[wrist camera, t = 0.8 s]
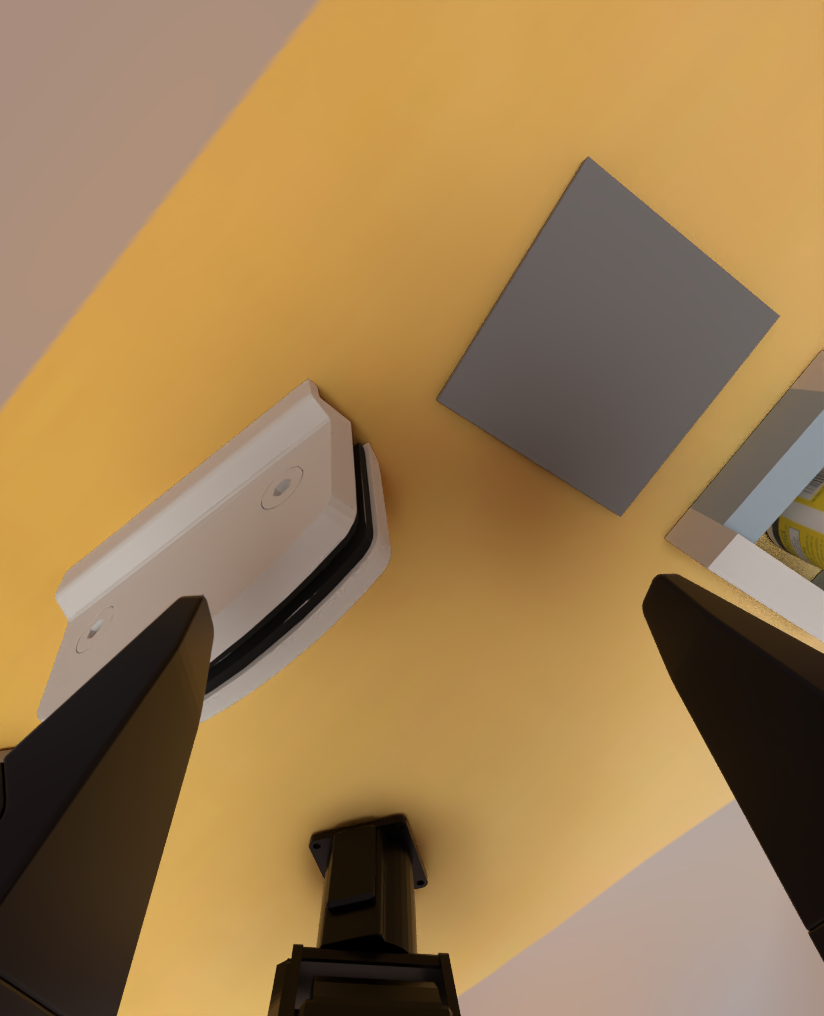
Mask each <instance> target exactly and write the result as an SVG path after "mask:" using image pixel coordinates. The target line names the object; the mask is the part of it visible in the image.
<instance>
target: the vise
mask: <svg viewBox="0 0 824 1016" xmlns="http://www.w3.org/2000/svg"><path fill="white" fill-rule="evenodd" d="M823 467H824V350H822V351H821V352H820V353H819V354H818V355H817V357H816V358H815V359H814V360H813V361H812V362H811V364H810V365H809V366H808V367H807V368H806V370H805V371H804V372H803V373H802V374H801V376H800V377H799V378H798V379H797V380H796V382H795V383H794V384H793V385H792V386H791V388H790V389H789V390H788V391H787V392H786V394H785V395H784V396H783V397H782V398H781V400H780V401H779V402H778V403H777V404H776V406H775V407H774V408H773V409H772V410H771V411H770V413H769V414H768V415H767V416H766V417H765V419H764V420H763V421H762V422H761V423H760V425H759V426H758V427H757V428H756V429H755V431H754V432H753V433H752V434H751V435H750V437H749V438H748V439H747V440H746V441H745V443H744V444H743V445H742V446H741V447H740V449H739V450H738V451H737V452H736V453H735V455H734V456H733V457H732V458H731V459H730V460H729V462H728V463H727V464H726V465H725V466H724V468H723V469H722V470H721V471H720V472H719V474H718V475H717V476H716V477H715V478H714V480H713V481H712V482H711V483H710V484H709V486H708V487H707V488H706V489H705V490H704V492H703V493H702V494H701V495H700V496H699V498H698V499H697V500H696V501H695V502H694V504H693V505H692V506H691V507H690V508H689V509H688V511H687V512H686V513H685V514H684V515H683V517H682V518H681V519H680V520H679V521H678V523H677V524H676V525H675V526H674V527H673V529H672V530H671V531H670V532H669V533H668V535H667V536H666V537H665V538H664V539H666V540H667V541H669V542H670V543H671V544H673V545H674V546H676V547H677V548H679V549H680V550H681V551H683V552H684V553H686V554H687V555H689V556H690V557H691V558H693V559H694V560H696V561H697V562H699V563H700V564H701V565H703V566H704V567H706V568H707V569H709V570H710V571H712V572H713V573H715V574H717V575H718V576H720V577H721V578H723V579H724V580H726V581H728V582H729V583H731V584H732V585H734V586H735V587H737V588H739V589H740V590H742V591H743V592H745V593H746V594H748V595H750V596H751V597H753V598H754V599H756V600H757V601H759V602H761V603H762V604H764V605H765V606H767V607H768V608H770V609H772V610H773V611H775V612H776V613H778V614H779V615H781V616H783V617H784V618H786V619H787V620H789V621H790V622H792V623H794V624H795V625H797V626H798V627H800V628H801V629H803V630H805V631H806V632H808V633H809V634H811V635H812V636H814V637H816V638H817V639H819V640H820V641H822V642H823V643H824V570H822V571H821V572H820V573H819V574H818V576H817V577H816V578H815V579H814V580H813V581H812V582H810V581H808V580H807V579H805V578H804V577H802V576H801V575H799V574H798V573H796V572H795V571H793V570H792V569H790V568H789V567H787V566H786V565H784V564H783V563H781V562H780V561H778V560H777V559H775V558H774V557H772V556H771V555H769V554H768V553H766V552H765V551H764V550H762V549H761V548H759V547H758V546H756V545H755V543H756V541H757V540H758V539H759V538H760V537H761V536H762V535H763V534H764V533H765V531H766V530H767V529H768V528H769V527H770V526H771V525H772V524H773V523H774V521H775V520H776V519H777V518H778V517H779V516H780V515H781V514H782V513H783V512H784V510H785V509H786V508H787V507H788V506H789V505H790V504H791V503H792V502H793V500H794V499H795V498H796V497H797V496H798V495H799V494H800V493H801V492H802V490H803V489H804V488H805V487H806V486H807V485H808V484H809V483H810V482H811V480H812V479H813V478H814V477H815V476H816V475H817V474H818V473H819V472H820V471H821V469H822V468H823Z"/></svg>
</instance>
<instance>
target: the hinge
mask: <svg viewBox="0 0 824 1016" xmlns="http://www.w3.org/2000/svg"><path fill="white" fill-rule="evenodd" d="M390 558H391V544H390V537H389V530H388V523H387V516H386V509H385V502H384V495H383V488H382V481H381V474H380V467H379V462H378V460H377V458H376V455H375V453H374V452H373V450H372V448H371V446H370V444H369V442H367V443H366V444H364V445H363V446H362V445H361V444H360V443H359V442H358V443H357V444H356V445H354V446H353V436H352V430H351V422H350V421H349V420H348V419H346V418H345V417H344V416H343V415H341V414H340V413H339V412H337V411H336V410H335V409H334V408H332V407H331V406H330V405H329V404H327V403H326V402H325V401H323V400H322V399H321V398H320V397H319V393H318V388H317V385H315V384H314V383H313V382H312V381H311V380H310V379H309V378H308V379H307V380H305V381H304V382H303V383H302V384H300V385H299V386H298V387H297V388H295V389H294V390H293V391H292V392H290V393H289V394H288V395H287V396H285V397H284V398H283V399H282V400H280V401H279V402H278V403H277V404H275V405H274V406H273V407H272V408H270V409H269V410H268V411H267V412H265V413H264V414H263V415H262V416H260V417H259V418H258V419H257V420H255V421H254V422H253V423H252V424H250V425H249V426H248V427H247V428H245V429H244V430H243V431H242V432H240V433H239V434H238V435H237V436H235V437H234V438H233V439H232V440H230V441H229V442H228V443H227V444H225V445H224V446H223V447H222V448H220V449H219V450H218V451H217V452H215V453H214V454H213V455H212V456H210V457H209V458H208V459H207V460H205V461H204V462H203V463H202V464H200V465H199V466H198V467H197V468H195V469H194V470H193V471H192V472H190V473H189V474H188V475H187V476H185V477H184V478H183V479H182V480H180V481H179V482H178V483H177V484H175V485H174V486H173V487H172V488H170V489H169V490H168V491H167V492H165V493H164V494H163V495H162V496H160V497H159V498H158V499H156V500H155V501H154V502H153V503H151V504H150V505H149V506H148V507H146V508H145V509H144V510H143V511H141V512H140V513H139V514H138V515H136V516H135V517H134V518H133V519H131V520H130V521H129V522H128V523H126V524H125V525H124V526H123V527H121V528H120V529H119V530H118V531H116V532H115V533H114V534H113V535H111V536H110V537H109V538H108V539H106V540H105V541H104V542H103V543H101V544H100V545H99V546H98V547H96V548H95V549H94V550H93V551H91V552H90V553H89V554H88V555H86V556H85V557H84V558H83V559H81V560H80V561H79V562H78V563H76V564H75V565H74V566H73V567H71V568H70V569H69V570H68V571H67V572H66V574H65V575H64V577H63V579H62V581H61V583H60V585H59V587H58V589H57V591H56V593H55V598H56V600H57V602H58V604H59V605H60V607H61V609H62V611H63V612H64V614H65V616H66V617H67V619H68V626H67V629H66V632H65V634H64V637H63V640H62V643H61V646H60V649H59V652H58V654H57V657H56V660H55V663H54V666H53V669H52V671H51V674H50V677H49V680H48V683H47V686H46V688H45V691H44V694H43V697H42V700H41V703H40V705H39V708H38V711H37V718H38V719H39V720H40V721H42V722H43V721H44V720H45V719H46V718H47V717H48V716H50V715H51V714H52V713H53V712H54V711H55V710H56V709H57V708H58V707H59V706H61V705H62V704H63V703H64V702H65V701H66V700H67V699H68V698H69V697H70V696H72V695H73V694H74V693H75V692H76V691H77V690H78V689H79V688H80V687H81V686H83V685H84V684H85V683H86V682H87V681H88V680H89V679H90V678H91V677H92V676H93V675H95V674H96V673H97V672H98V671H99V670H100V669H101V668H102V667H103V666H104V665H106V664H107V663H108V662H109V661H110V660H111V659H112V658H113V657H114V656H115V655H117V654H118V653H119V652H120V651H121V650H122V649H123V648H124V647H125V646H126V645H127V644H129V643H130V642H131V641H132V640H133V639H134V638H135V637H136V636H137V635H138V634H140V633H141V632H142V631H143V630H144V629H145V628H146V627H147V626H148V625H149V624H151V623H152V622H153V621H154V620H155V619H156V618H157V617H158V616H159V615H160V614H162V613H163V612H164V611H165V610H166V609H167V608H168V607H169V606H170V605H171V604H172V603H174V602H175V601H176V600H177V599H178V598H180V597H182V596H192V595H202V596H204V597H205V598H206V599H207V602H208V606H209V610H210V614H211V618H212V622H213V626H214V640H213V646H212V652H211V658H210V665H209V671H208V677H207V683H206V690H205V696H204V702H203V708H202V713H201V718H200V722H199V723H201V722H203V721H205V720H207V719H209V718H211V717H212V716H214V715H216V714H217V713H219V712H221V711H223V710H224V709H226V708H228V707H229V706H231V705H233V704H234V703H236V702H237V701H239V700H240V699H242V698H244V697H245V696H247V695H248V694H250V693H251V692H252V691H254V690H255V689H257V688H258V687H259V686H261V685H262V684H263V683H265V682H266V681H268V680H269V679H270V678H272V677H273V676H274V675H276V674H277V673H278V672H279V671H281V670H282V669H283V668H284V667H286V666H287V665H288V664H289V663H291V662H292V661H293V660H294V659H296V658H297V657H298V656H299V655H300V654H301V653H303V652H304V651H305V650H306V649H307V648H308V647H310V646H311V645H312V644H313V643H314V642H316V641H317V640H318V639H319V638H320V637H321V636H322V635H323V634H324V633H325V632H326V631H327V630H328V629H329V628H330V627H332V626H333V625H334V624H335V623H336V622H337V621H338V620H339V619H340V618H341V617H342V616H343V615H344V614H345V613H346V612H347V611H348V610H349V609H350V608H351V607H352V606H353V605H354V604H355V602H356V601H357V600H358V599H359V598H360V597H361V596H362V595H363V594H364V593H365V592H366V591H367V590H368V588H369V587H370V586H371V585H372V584H373V583H374V582H375V581H376V580H377V578H378V577H379V576H380V575H381V574H382V573H383V572H384V570H385V568H386V567H387V565H388V563H389V561H390Z"/></svg>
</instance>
